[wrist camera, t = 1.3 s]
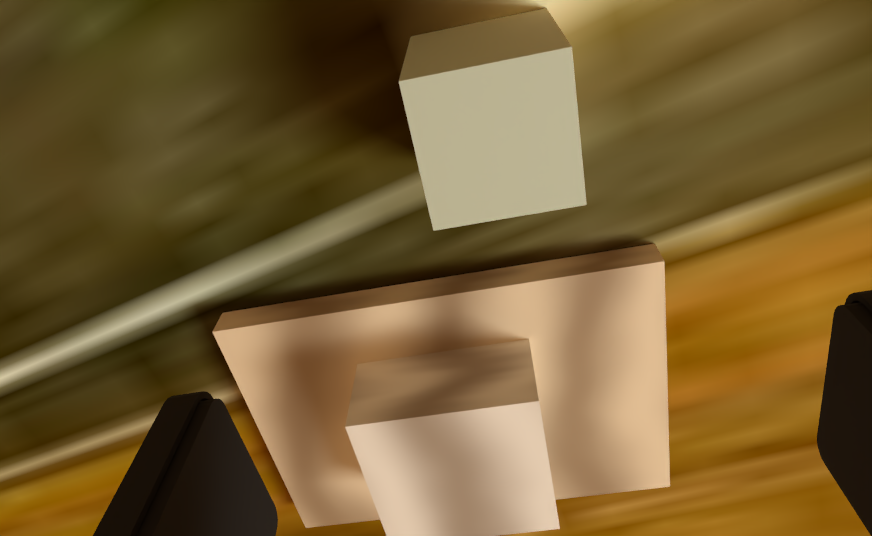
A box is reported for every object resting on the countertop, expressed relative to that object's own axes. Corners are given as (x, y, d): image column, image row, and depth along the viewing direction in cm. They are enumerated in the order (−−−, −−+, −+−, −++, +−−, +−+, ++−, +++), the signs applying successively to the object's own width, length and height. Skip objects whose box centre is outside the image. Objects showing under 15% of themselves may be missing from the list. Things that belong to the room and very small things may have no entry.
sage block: (546, 7, 23) (571, 46, 18) (560, 138, 26) (586, 204, 21) (410, 36, 24) (398, 81, 19) (437, 160, 26) (433, 230, 21)
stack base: (654, 243, 28) (694, 318, 23) (662, 464, 35) (694, 555, 30) (222, 312, 31) (180, 392, 26) (311, 505, 38) (290, 595, 33)
